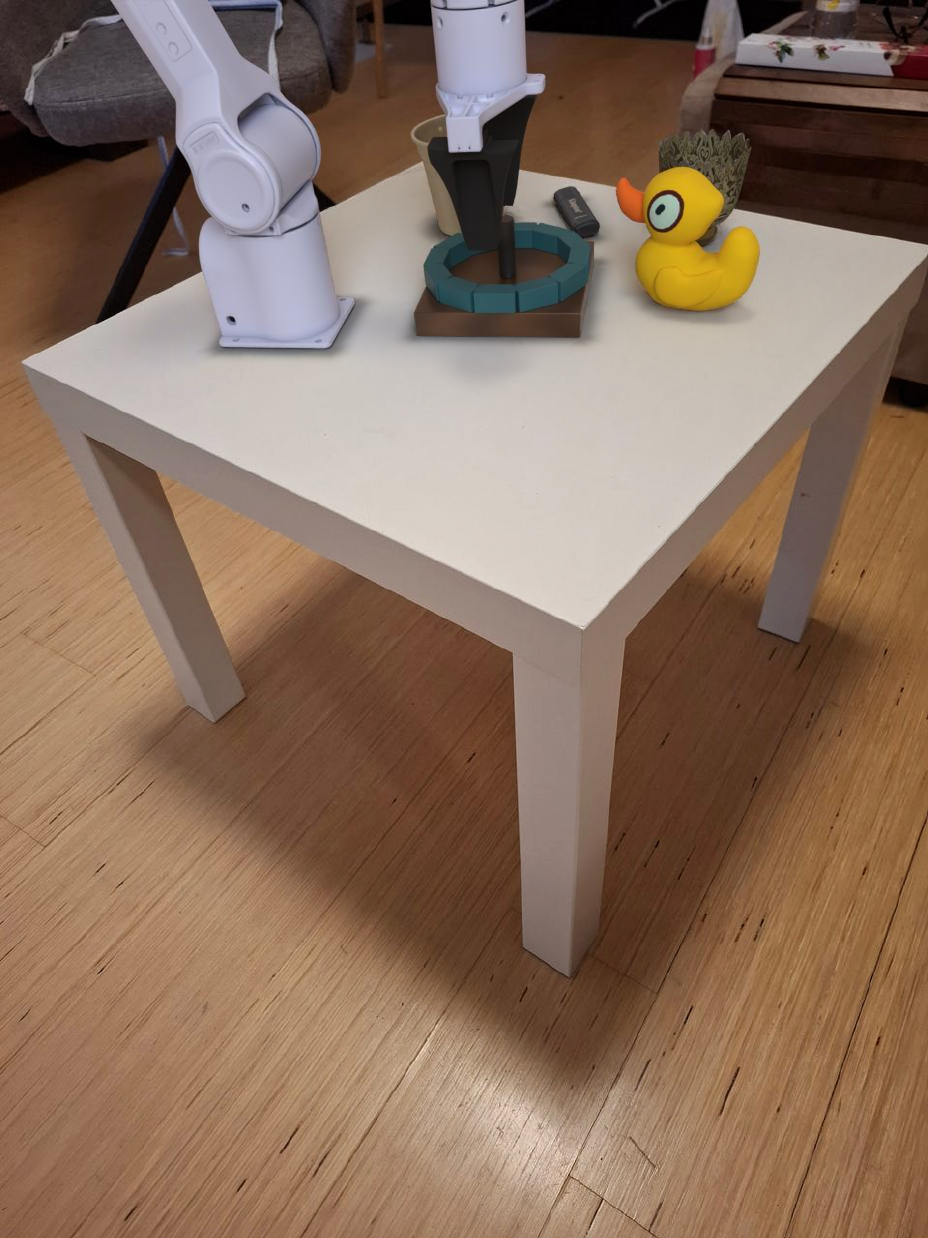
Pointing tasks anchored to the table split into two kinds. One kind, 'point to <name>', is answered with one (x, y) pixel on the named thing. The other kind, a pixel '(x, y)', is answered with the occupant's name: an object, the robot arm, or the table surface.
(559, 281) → the teal segmented ring
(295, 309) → the robot arm
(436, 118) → the flower pot
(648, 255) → the duckling
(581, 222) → the usb stick
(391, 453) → the table surface
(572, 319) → the ring toss peg base
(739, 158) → the cup
